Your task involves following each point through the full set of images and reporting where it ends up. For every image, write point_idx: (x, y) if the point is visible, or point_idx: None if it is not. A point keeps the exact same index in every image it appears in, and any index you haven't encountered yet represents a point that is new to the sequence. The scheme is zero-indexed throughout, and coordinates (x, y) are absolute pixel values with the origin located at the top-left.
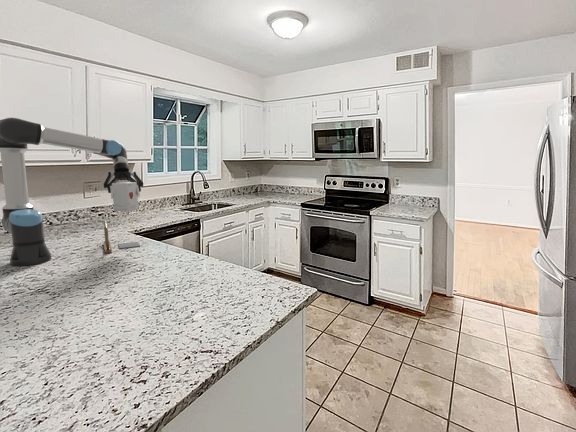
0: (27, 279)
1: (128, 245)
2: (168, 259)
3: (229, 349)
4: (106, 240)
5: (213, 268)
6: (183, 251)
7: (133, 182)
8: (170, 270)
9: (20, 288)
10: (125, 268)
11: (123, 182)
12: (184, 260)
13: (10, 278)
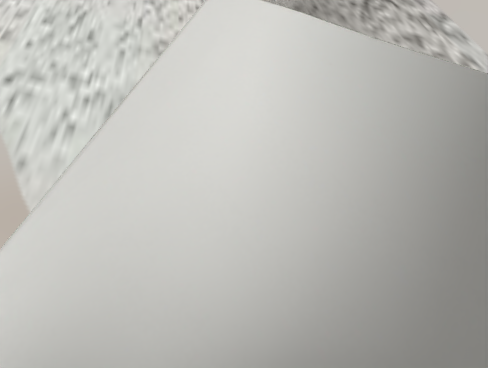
0: (437, 48)
1: None
2: (105, 104)
3: None
4: None
5: (16, 14)
6: (32, 180)
7: (44, 223)
8: (117, 25)
9: (413, 8)
10: None
11: (360, 200)
12: (62, 83)
13: (485, 63)
